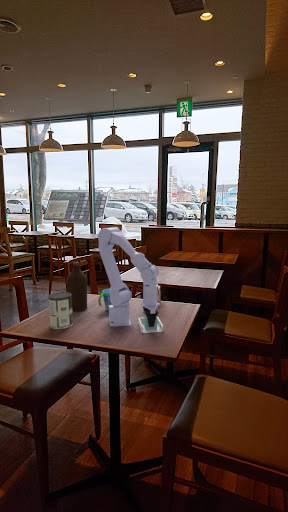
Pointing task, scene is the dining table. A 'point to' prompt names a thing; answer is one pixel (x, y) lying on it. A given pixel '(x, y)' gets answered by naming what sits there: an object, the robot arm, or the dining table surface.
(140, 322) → the open box
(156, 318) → the teal block
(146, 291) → the robot arm
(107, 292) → the snack cup
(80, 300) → the olive oil
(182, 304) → the dining table surface
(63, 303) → the coffee can
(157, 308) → the stack of blocks
